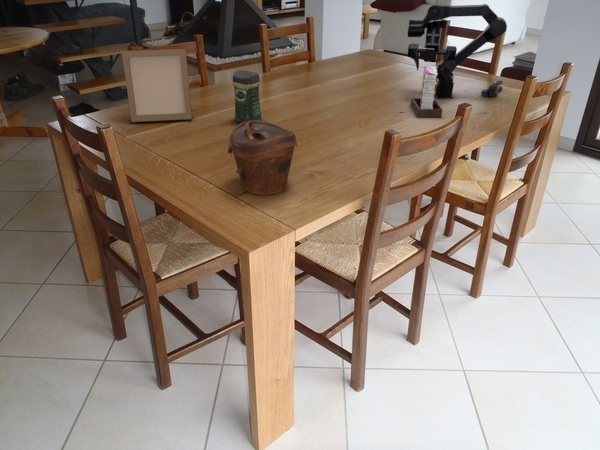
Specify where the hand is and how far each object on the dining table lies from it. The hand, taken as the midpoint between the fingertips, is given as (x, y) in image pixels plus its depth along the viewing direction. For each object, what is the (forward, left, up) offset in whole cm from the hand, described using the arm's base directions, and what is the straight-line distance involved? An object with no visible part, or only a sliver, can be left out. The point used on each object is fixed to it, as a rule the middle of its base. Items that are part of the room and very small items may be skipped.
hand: (429, 70), depth 199 cm
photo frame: (+104, +16, -14) cm, 106 cm away
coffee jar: (+71, +21, -14) cm, 75 cm away
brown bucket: (+62, +73, -14) cm, 97 cm away
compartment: (+2, +9, -14) cm, 17 cm away
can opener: (-33, -15, -14) cm, 39 cm away
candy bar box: (+2, +9, -14) cm, 17 cm away
